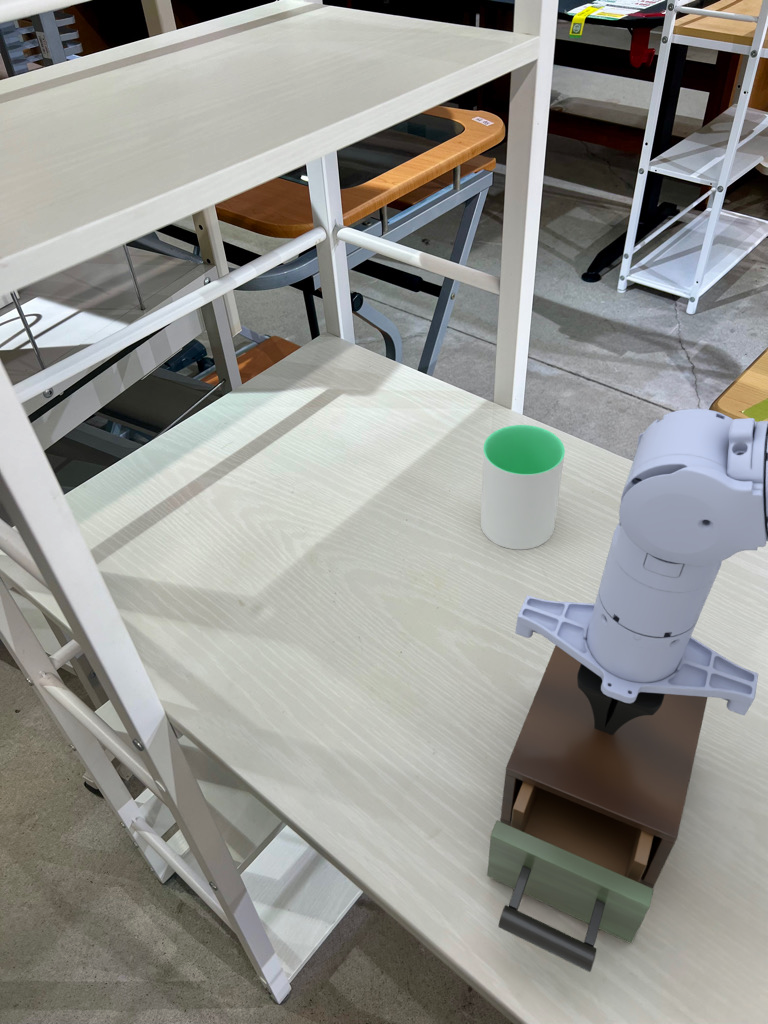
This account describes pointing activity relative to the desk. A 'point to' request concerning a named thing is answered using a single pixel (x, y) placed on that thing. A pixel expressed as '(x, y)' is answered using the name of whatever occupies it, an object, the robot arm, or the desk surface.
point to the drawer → (570, 872)
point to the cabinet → (608, 758)
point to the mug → (521, 486)
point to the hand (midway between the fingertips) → (606, 720)
